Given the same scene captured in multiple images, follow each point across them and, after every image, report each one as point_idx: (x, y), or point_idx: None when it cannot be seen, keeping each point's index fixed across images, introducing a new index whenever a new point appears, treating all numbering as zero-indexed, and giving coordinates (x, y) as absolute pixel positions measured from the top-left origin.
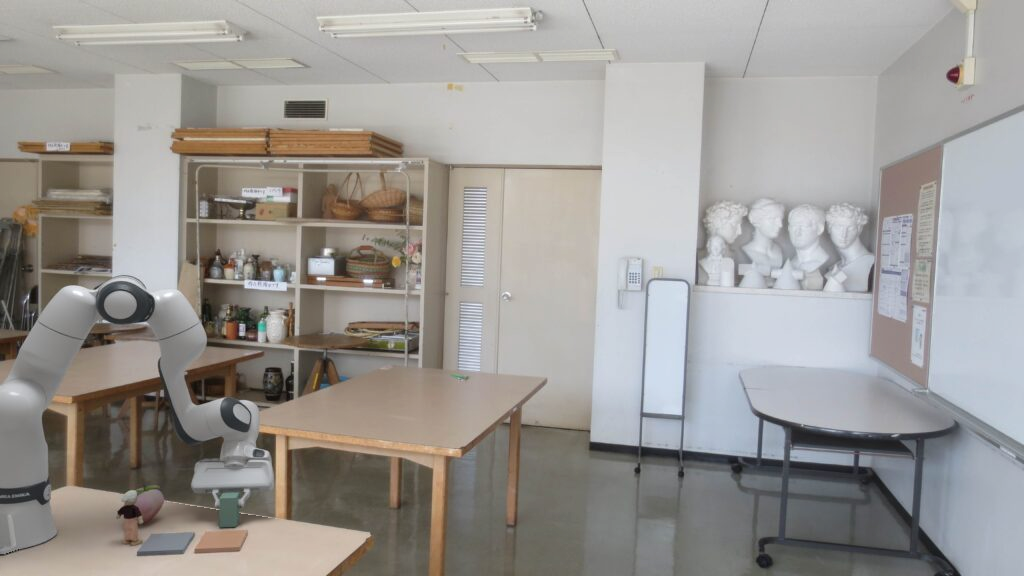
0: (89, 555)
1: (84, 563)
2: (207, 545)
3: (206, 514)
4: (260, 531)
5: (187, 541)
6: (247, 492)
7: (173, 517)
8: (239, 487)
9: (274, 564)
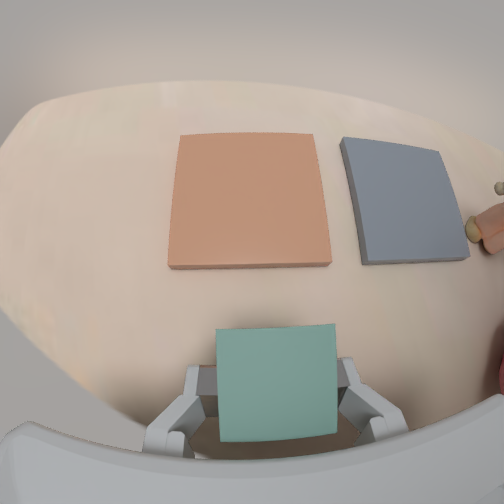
0: None
1: (484, 152)
2: (282, 149)
3: None
4: (130, 287)
5: (357, 185)
6: (158, 426)
7: None
8: (217, 460)
9: (107, 96)
